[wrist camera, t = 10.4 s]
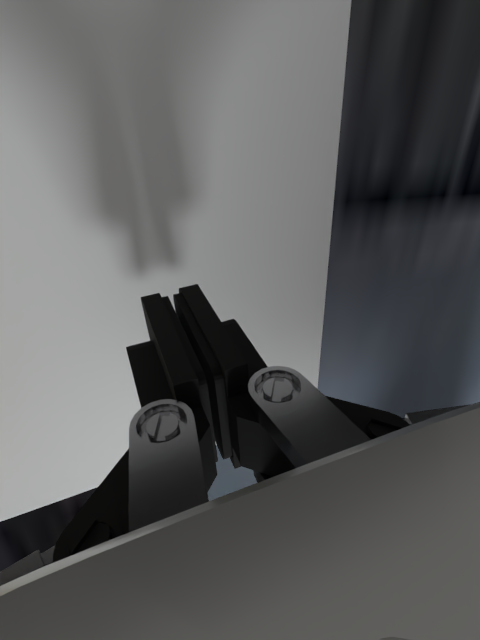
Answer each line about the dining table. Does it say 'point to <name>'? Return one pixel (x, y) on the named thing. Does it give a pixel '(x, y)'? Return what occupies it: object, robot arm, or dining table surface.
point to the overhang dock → (153, 204)
